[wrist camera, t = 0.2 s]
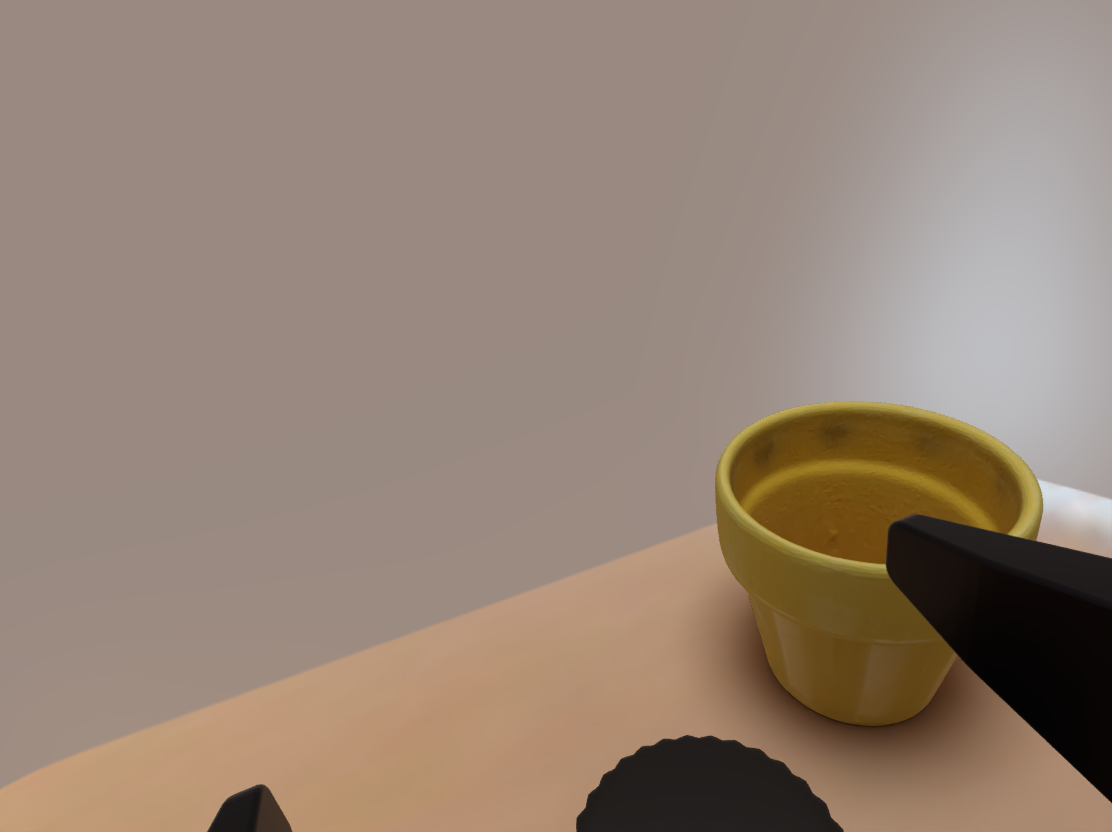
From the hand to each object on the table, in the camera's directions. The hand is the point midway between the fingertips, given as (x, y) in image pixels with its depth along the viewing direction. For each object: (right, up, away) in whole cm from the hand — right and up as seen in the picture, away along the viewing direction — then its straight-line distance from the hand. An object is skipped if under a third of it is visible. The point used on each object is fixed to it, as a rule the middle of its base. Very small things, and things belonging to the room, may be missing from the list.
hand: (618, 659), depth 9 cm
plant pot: (+12, -7, +19) cm, 23 cm away
